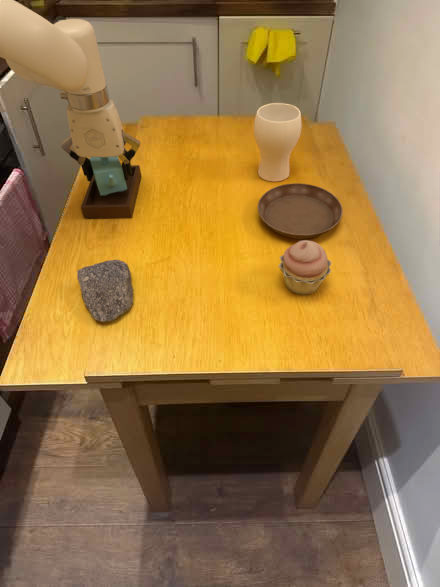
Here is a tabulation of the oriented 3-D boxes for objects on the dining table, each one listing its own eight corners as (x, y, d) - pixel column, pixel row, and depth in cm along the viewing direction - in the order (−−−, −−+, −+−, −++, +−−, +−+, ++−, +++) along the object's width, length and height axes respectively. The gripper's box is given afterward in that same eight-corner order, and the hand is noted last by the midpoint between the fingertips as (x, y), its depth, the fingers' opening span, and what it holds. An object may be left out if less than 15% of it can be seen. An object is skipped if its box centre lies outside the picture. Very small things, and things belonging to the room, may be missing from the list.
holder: (132, 218, 90) (129, 206, 87) (84, 219, 90) (80, 207, 88) (141, 176, 101) (139, 165, 98) (99, 177, 101) (95, 166, 99)
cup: (292, 160, 104) (299, 100, 93) (298, 184, 97) (307, 122, 85) (250, 162, 104) (252, 102, 93) (254, 186, 97) (256, 124, 85)
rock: (67, 271, 72) (118, 247, 75) (78, 289, 77) (126, 265, 79) (88, 318, 66) (144, 290, 68) (100, 335, 70) (151, 308, 73)
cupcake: (285, 259, 80) (291, 218, 72) (332, 273, 77) (343, 232, 69) (268, 292, 74) (272, 251, 67) (318, 308, 71) (328, 267, 64)
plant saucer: (299, 257, 80) (301, 246, 78) (240, 215, 89) (240, 204, 87) (357, 221, 87) (360, 209, 85) (297, 185, 96) (298, 174, 94)
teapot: (131, 200, 91) (125, 170, 85) (104, 207, 89) (96, 177, 84) (120, 173, 98) (113, 144, 93) (94, 179, 97) (86, 150, 91)
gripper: (38, 106, 76) (66, 187, 89) (131, 104, 76) (145, 186, 89) (49, 90, 81) (74, 169, 94) (136, 88, 81) (149, 167, 94)
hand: (109, 177), depth 91 cm, fingers closed on teapot, 7 cm apart
